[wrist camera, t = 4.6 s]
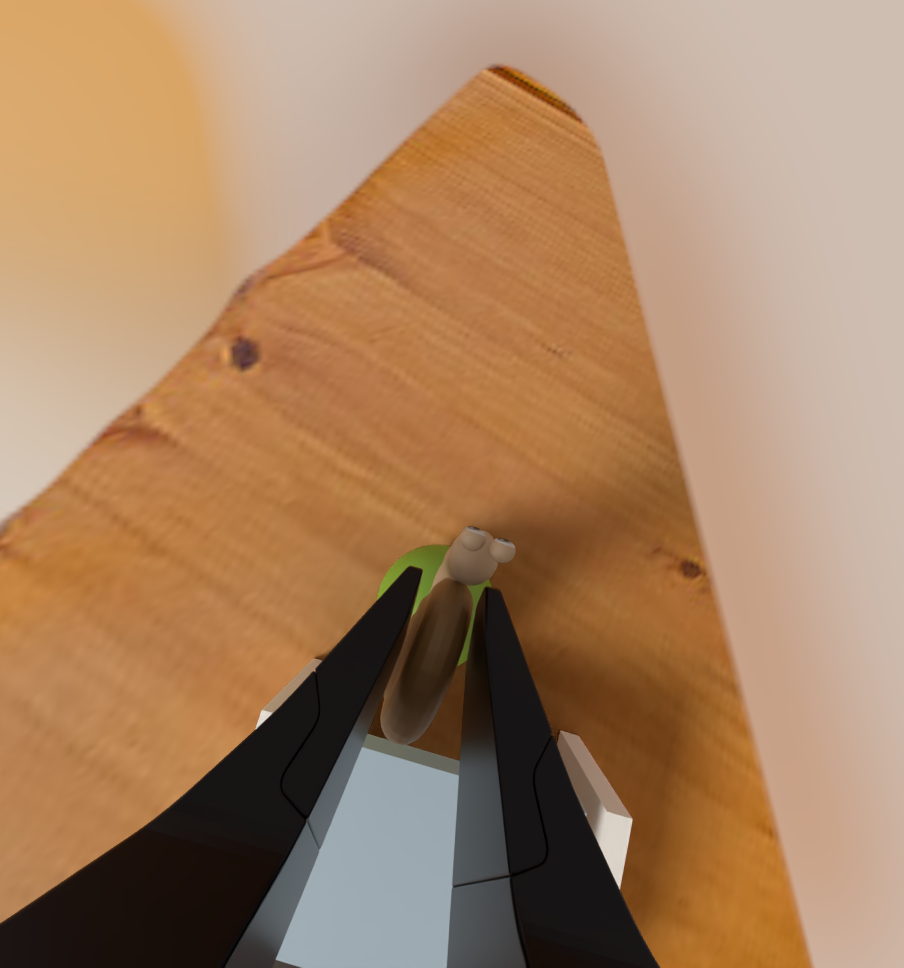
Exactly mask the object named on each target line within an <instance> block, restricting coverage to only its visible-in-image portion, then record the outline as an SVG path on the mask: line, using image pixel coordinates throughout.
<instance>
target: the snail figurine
mask: <svg viewBox="0 0 904 968" xmlns="http://www.w3.org/2000/svg"><path fill="white" fill-rule="evenodd" d="M515 553H516V549H515V546H514V544H513V543H511V542H510V541H508V540H506V539H503V538H497V539H495V540H494V538H493V537H492V536H491V535H490V534H489V533H488V532H486V531H484V530H480V529H479V528H476V527H473V526H469V527H466V528H465V529H463V531H462V532H461V534H460V535H459V536H458V537H457V538H456V539H455V541H454V542H453V544H452V546H446V545H427V546H423V547H419V548H416V549H414V550H412V551H410V552H408V553H406V554H405V555H403V556H402V557H401V558H399V559H398V560H397V561H396V562H395V563H394V564H393V565H392V567H391V568H390V569H389V570H388V572H387V573H386V575H385V577H384V579H383V581H382V583H381V586H380V589H379V592H378V597H377V600H378V599H379V598H380V597H381V595H382V594H383V593H384V592H385V591H386V590H387V589H388V588H389V587H390V585H391V584H392V583H393V582H394V581H395V580H396V579H397V578H398V577H399V576H400V574H401V573H402V572H403V571H404V570H405V569H406V568H407V567H408V566H414V567H418V568H421V569H422V570H423V574H422V578H421V582H420V586H419V590H418V594H417V598H416V601H415V605H414V608H413V612H412V616H411V619H410V623H409V626H408V630H407V633H406V637H405V640H404V644H403V647H402V650H401V652H400V655H399V658H398V660H397V663H396V665H395V667H394V670H393V672H392V675H391V677H390V680H389V682H388V685H387V687H386V690H385V692H384V702H383V706H382V710H381V715H380V721H381V728H382V731H383V733H384V734H385V736H386V738H387V739H388V740H390V741H391V742H392V743H394V744H397V745H407V744H410V743H412V742H414V741H416V740H417V739H418V738H420V737H421V736H422V735H423V733H424V732H425V731H426V730H427V729H428V727H429V726H430V724H431V722H432V721H433V719H434V717H435V715H436V713H437V712H438V710H439V708H440V706H441V703H442V701H443V699H444V697H445V695H446V692H447V690H448V688H449V685H450V683H451V680H452V678H453V675H454V673H455V670H456V667H457V666H459V665H461V664H463V663H464V662H466V661H467V656H468V651H469V645H470V639H471V634H472V628H473V622H474V617H475V611H476V607H477V603H478V601H479V598H480V596H481V594H482V592H483V589H484V588H485V587H486V586H489V587H492V586H491V583H490V581H489V578H490V577H491V576H492V575H493V574H494V572H495V571H496V569H497V566H498V563H507V562H509V561H511V560H512V559H513V558H514V556H515Z"/></svg>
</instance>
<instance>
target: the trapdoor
mask: <svg viewBox="0 0 904 968" xmlns="http://www.w3.org/2000/svg"><path fill="white" fill-rule="evenodd" d="M459 766H460V761H458V760H455V759H452V758H448V757H445V756H441V755H438V754H435V753H431V752H428V751H424V750H421V749H418V748H414V747H411V746H408V745H397V744H394V743H392V742H391V741H390V740H387V739H384V738H380V737H377V736H374V735H370V734H367V736H366V739H365V741H364V744H363V746H362V749H361V751H360V753H359V756H358V758H357V761H356V763H355V766H354V768H353V771H352V773H351V776H350V778H349V781H348V783H347V785H346V788H345V790H344V793H343V795H342V798H341V800H340V803H339V805H338V808H337V810H336V812H335V815H334V817H333V820H332V822H331V825H330V827H329V830H328V832H327V835H326V837H325V840H324V842H323V844H322V847H321V849H320V850H319V854H318V857H317V859H316V862H315V864H314V867H313V869H312V872H311V874H310V876H309V879H308V881H307V884H306V886H305V889H304V891H303V894H302V896H301V899H300V901H299V904H298V906H297V908H296V911H295V913H294V916H293V918H292V921H291V923H290V926H289V928H288V931H287V933H286V935H285V938H284V940H283V943H282V945H281V948H280V950H279V953H278V955H277V958H276V960H275V962H274V965H273V967H272V968H447V954H448V938H449V922H450V906H451V891H452V888H453V886H452V876H453V861H454V845H455V829H456V813H457V798H458V782H459ZM577 797H578V796H577ZM578 799H579V797H578ZM579 801H580V799H579ZM580 804H581V806H582V808H583V810H584V813H585V815H586V816H587V813H586V811H585V809H584V807H583V805H582V803H581V801H580Z"/></svg>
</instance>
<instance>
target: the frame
mask: <svg viewBox="0 0 904 968" xmlns="http://www.w3.org/2000/svg"><path fill="white" fill-rule="evenodd" d="M321 662H322V660H318V659H315V658H313V659H312V660H311V661H310V662H309V663H308V664H307V665H306V666H305V667H304V668H303V669H302V670H301V671H300V672H299V673H298V674H297V675H296V676H295V677H294V678H293V679H292V680H291V681H290V682H289V683H288V684H287V685H286V686H285V687H284V688H283V689H282V690H281V691H280V692H279V693H278V694H277V695H276V696H275V697H274V698H273V699H272V700H271V701H270V702H269V703H268V704H267V705H266V706H265V707H264V708H263V709H262V711H261V714H260V717H259V720H258V723H257V726H256V729H257V728H258V727H259V726H260V725H261V724H262V723H263V722H264V721H265V720H266V719H267V718H268V717H269V716H270V715H271V714H272V713H273V712H274V711H275V710H276V709H278V708H279V707H280V706H281V704H282V703H283V702H284V701H285V700H286V699H287V698H288V697H289V696H290V695H291V694H292V693H293V692H294V691H295V690H296V689H297V688H298V687H299V686H300V685H301V683H302V682H303V681H304V680H305V679H306V678H307V677H308V676H309V675H310V673H311V672H313V671H315V668H316V667H317V666H318V665H319V664H320V663H321ZM315 673H316V672H315ZM256 729H255V730H256ZM557 746H558V749H559V752H560V754H561V757H562V760H563V762H564V765H565V767H566V770H567V772H568V775H569V778H570V780H571V783H572V785H573V788H574V790H575V792H576V795H577V796H578V797H579V799H580V801H581V803H582V805H583V807H584V809H585V811H586V813H587V816H586V817H587V820H588V822H589V824H590V826H591V828H592V831H593V833H594V835H595V837H596V839H597V841H598V844H599V846H600V848H601V850H602V852H603V855H604V857H605V859H606V861H607V863H608V865H609V868H610V870H611V872H612V874H613V876H614V878H615V881H616V883H617V885H618V887H619V889H620V886H621V880H622V875H623V869H624V864H625V858H626V853H627V848H628V842H629V837H630V831H631V826H632V821H633V819H632V817H631V816H630V814H629V813H628V811H627V810H626V808H625V807H624V805H623V803H622V802H621V800H620V799H619V797H618V796H617V794H616V793H615V791H614V789H613V788H612V786H611V785H610V783H609V782H608V780H607V779H606V777H605V776H604V774H603V772H602V771H601V769H600V768H599V766H598V765H597V763H596V762H595V760H594V759H593V757H592V755H591V754H590V752H589V751H588V749H587V748H586V746H585V745H584V743H583V742H582V740H581V738H580V737H579V736H578V735H575V734H571V733H568V732H565V731H561V730H560V733H559V738H558V743H557Z"/></svg>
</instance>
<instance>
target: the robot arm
mask: <svg viewBox="0 0 904 968" xmlns="http://www.w3.org/2000/svg"><path fill="white" fill-rule="evenodd" d="M422 574H423V570H422V569H421V568H418V567H414V566H408V567H407V568H406V569H405V570H404V571H403V572H402V573H401V574H400V576H399V577H398V578H397V579H396V580H395V581H394V582H393V583H392V584H391V585H390V587H389V588H388V589H387V590H386V591H385V592H384V593H383V594H382V595H381V597H380V598H379V599H378V600H377V601H376V602H375V603H374V604H373V605H372V606H371V608H370V609H369V610H368V611H367V612H366V613H365V614H364V615H363V616H362V617H361V619H360V620H359V621H358V622H357V623H356V624H355V625H354V626H353V627H352V629H351V630H350V631H349V632H348V633H347V634H346V635H345V636H344V637H343V638H342V640H341V641H340V642H339V643H338V644H337V645H336V646H335V647H334V648H333V649H332V651H331V652H330V653H329V654H328V655H327V656H326V657H325V658H324V659H323V661H322V662H321V663H320V664H319V665H318V666H317V667H316V668H315V671H313V672H311V673H310V675H309V676H308V677H307V678H306V679H305V680H304V681H303V682H302V683H301V685H300V686H299V687H298V688H297V689H296V690H295V691H294V692H293V693H292V694H291V695H290V696H289V697H288V698H287V699H286V700H285V701H284V702H283V703H282V704H281V706H280V707H279V708H278V709H276V710H275V711H274V712H273V713H272V714H271V715H270V716H269V717H268V718H267V719H266V720H265V721H264V722H263V723H262V724H261V725H260V726H259V727H258V728H257V729H256V730H254V731H253V732H252V733H251V734H250V735H249V736H248V737H247V738H246V739H245V740H243V741H242V742H241V743H240V744H239V745H238V746H237V747H236V748H235V749H234V750H232V751H231V752H230V753H229V754H228V755H227V756H226V757H225V758H224V759H223V760H221V761H220V762H219V763H218V764H217V765H216V766H215V767H214V768H213V769H212V770H211V771H209V772H208V773H207V774H206V775H205V776H204V777H203V778H202V779H201V780H200V781H198V782H197V783H196V784H195V785H194V786H193V787H192V788H191V789H190V790H188V791H187V792H186V793H185V794H184V795H183V796H182V797H180V798H179V799H178V800H177V801H176V802H174V803H173V804H172V805H171V806H170V807H169V808H167V809H166V810H165V811H163V812H162V813H161V814H160V815H158V816H157V817H156V818H155V819H153V820H152V821H151V822H149V823H148V824H147V825H145V826H144V827H143V828H141V829H140V830H138V831H137V832H135V833H134V834H132V835H131V836H129V837H128V838H126V839H125V840H124V841H122V842H121V843H119V844H118V845H116V846H115V847H113V848H112V849H110V850H109V851H107V852H106V853H104V854H103V855H101V856H100V857H98V858H97V859H95V860H94V861H92V862H91V863H89V864H88V865H86V866H85V867H83V868H82V869H80V870H79V871H77V872H76V873H74V874H73V875H72V876H70V877H69V878H67V879H66V880H64V881H63V882H61V883H60V884H58V885H57V886H55V887H54V888H52V889H51V890H49V891H48V892H46V893H45V894H43V895H42V896H40V897H39V898H37V899H36V900H34V901H33V902H31V903H30V904H28V905H27V906H25V907H24V908H22V909H21V910H19V911H18V912H17V913H15V914H14V915H12V916H11V917H9V918H8V919H6V920H5V921H3V922H2V923H0V968H272V967H273V965H274V962H275V960H276V958H277V955H278V953H279V950H280V948H281V945H282V943H283V940H284V938H285V935H286V933H287V931H288V928H289V926H290V923H291V921H292V918H293V916H294V913H295V911H296V908H297V906H298V904H299V901H300V899H301V896H302V894H303V891H304V889H305V886H306V884H307V881H308V879H309V876H310V874H311V872H312V869H313V867H314V864H315V862H316V859H317V857H318V854H319V850H320V849H321V847H322V844H323V842H324V840H325V837H326V835H327V832H328V830H329V827H330V825H331V822H332V820H333V817H334V815H335V812H336V810H337V808H338V805H339V803H340V800H341V798H342V795H343V793H344V790H345V788H346V785H347V783H348V781H349V778H350V776H351V773H352V771H353V768H354V766H355V763H356V761H357V758H358V756H359V753H360V751H361V749H362V746H363V744H364V741H365V739H366V736H367V734H368V731H369V729H370V726H371V724H372V722H373V719H374V717H375V714H376V712H377V709H378V707H379V704H380V702H381V699H382V697H383V695H384V692H385V690H386V687H387V685H388V682H389V680H390V677H391V675H392V672H393V670H394V667H395V665H396V663H397V660H398V658H399V655H400V652H401V650H402V647H403V644H404V640H405V637H406V633H407V630H408V626H409V623H410V619H411V616H412V612H413V608H414V605H415V601H416V598H417V594H418V590H419V586H420V582H421V578H422ZM315 672H316V673H315ZM551 735H552V730H551V727H550V725H549V722H548V719H547V716H546V714H545V711H544V708H543V705H542V703H541V700H540V697H539V694H538V692H537V689H536V686H535V684H534V681H533V678H532V675H531V673H530V670H529V667H528V664H527V662H526V659H525V656H524V653H523V651H522V648H521V645H520V643H519V640H518V637H517V634H516V632H515V629H514V626H513V623H512V621H511V618H510V615H509V612H508V610H507V607H506V604H505V602H504V599H503V596H502V593H501V591H500V590H499V589H497V588H493V587H489V586H486V587H485V588H484V589H483V592H482V594H481V596H480V598H479V601H478V603H477V607H476V611H475V617H474V622H473V628H472V634H471V639H470V645H469V651H468V656H467V663H466V673H465V687H464V703H463V719H462V735H461V750H460V766H459V782H458V798H457V813H456V829H455V845H454V861H453V876H452V886H453V888H452V891H451V906H450V922H449V938H448V954H447V968H660V966H659V965H658V963H657V962H656V960H655V958H654V957H653V955H652V953H651V951H650V950H649V948H648V946H647V944H646V943H645V941H644V939H643V937H642V935H641V933H640V931H639V929H638V927H637V926H636V924H635V921H634V919H633V917H632V915H631V913H630V911H629V909H628V907H627V905H626V902H625V900H624V898H623V896H622V894H621V891H620V889H619V887H618V885H617V883H616V881H615V878H614V876H613V874H612V872H611V870H610V868H609V865H608V863H607V861H606V859H605V857H604V855H603V852H602V850H601V848H600V846H599V844H598V841H597V839H596V837H595V835H594V833H593V831H592V828H591V826H590V824H589V822H588V820H587V817H586V815H585V813H584V810H583V808H582V806H581V804H580V801H579V799H578V797H577V795H576V792H575V790H574V788H573V785H572V783H571V780H570V778H569V775H568V772H567V770H566V767H565V765H564V762H563V760H562V757H561V754H560V752H559V749H558V746H557V743H556V741H555V738H554V736H551Z"/></svg>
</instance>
